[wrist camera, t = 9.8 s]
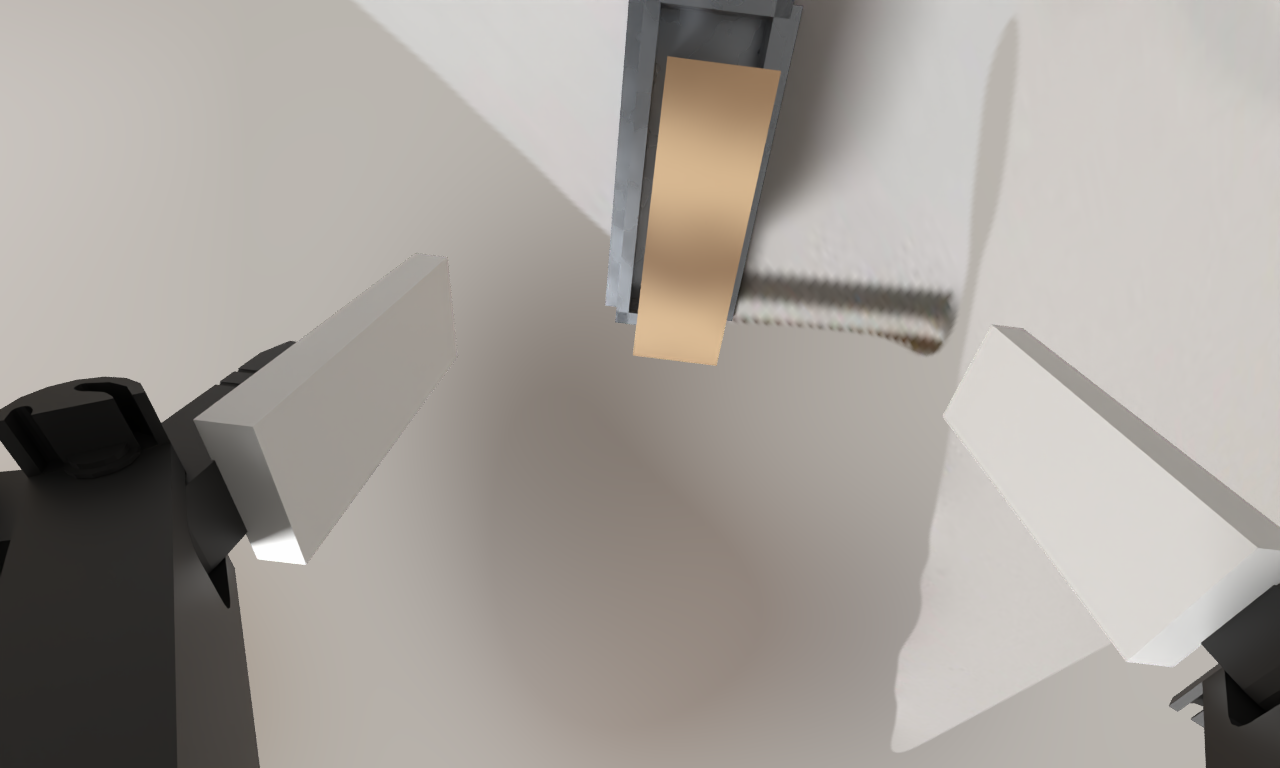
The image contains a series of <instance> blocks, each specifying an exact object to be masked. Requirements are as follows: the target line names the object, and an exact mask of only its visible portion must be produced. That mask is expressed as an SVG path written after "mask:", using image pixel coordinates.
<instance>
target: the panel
mask: <svg viewBox="0 0 1280 768" xmlns="http://www.w3.org/2000/svg"><path fill="white" fill-rule="evenodd" d="M780 74H781V71H778V70H770V69H763V68H755V67H747V66H739V65H731V64H724V63H716V62H708V61H700V60H693V59H685V58H677V57H669V56H667V65H666V73H665V82H664V91H663V99H662V108H661V117H660V125H659V134H658V143H657V151H656V160H655V169H654V177H653V186H652V195H651V203H650V212H649V221H648V229H647V238H646V246H645V255H644V264H643V272H642V281H641V290H640V298H639V307H638V316H637V324H636V333H635V342H634V351H633V355H634V356H643V357H650V358H659V359H667V360H675V361H682V362H691V363H699V364H708V365H717V361H718V356H719V352H720V347H721V343H722V338H723V334H724V329H725V325H726V320H727V316H728V311H729V306H730V302H731V297H732V293H733V288H734V284H735V279H736V275H737V270H738V265H739V261H740V256H741V252H742V247H743V243H744V238H745V234H746V229H747V225H748V220H749V215H750V211H751V206H752V202H753V197H754V193H755V188H756V184H757V179H758V174H759V170H760V165H761V161H762V156H763V152H764V147H765V143H766V138H767V133H768V129H769V124H770V120H771V115H772V111H773V106H774V102H775V97H776V93H777V88H778V83H779V79H780Z"/></svg>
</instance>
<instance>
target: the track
mask: <svg viewBox="0 0 1280 768" xmlns="http://www.w3.org/2000/svg"><path fill="white" fill-rule="evenodd" d="M793 4H794V0H629V7H628V20H627V33H626V46H625V59H624V71H623V84H622V97H621V110H620V123H619V136H618V149H617V162H616V175H615V188H614V201H613V214H612V227H611V240H610V254H609V266H608V279H607V292H606V305H608V306H615V307H617V310H616V321H615V322H618V323H627V324H634V325H636V324H637V316H638V307H639V298H640V290H641V281H642V272H643V264H644V255H645V246H646V238H647V229H648V221H649V212H650V203H651V195H652V186H653V177H654V169H655V160H656V151H657V143H658V134H659V125H660V117H661V108H662V99H663V91H664V82H665V73H666V65H667V56H669V57H677V58H685V59H693V60H700V61H708V62H716V63H724V64H731V65H739V66H747V67H755V68H763V69H770V70H778V71H781V74H780V79H779V83H778V88H777V93H776V97H775V102H774V106H773V111H772V115H771V120H770V124H769V129H768V133H767V138H766V143H765V147H764V152H763V156H762V161H761V165H760V170H759V174H758V179H757V184H756V188H755V193H754V197H753V202H752V206H751V211H750V215H749V220H748V225H747V229H746V234H745V238H744V243H743V247H742V252H741V256H740V261H739V265H738V270H737V275H736V279H735V284H734V288H733V293H732V297H731V302H730V306H729V311H728V316H727V320H728V321H732V319H733V314H734V310H735V305H736V301H737V297H738V292H739V288H740V283H741V279H742V274H743V270H744V266H745V261H746V257H747V252H748V248H749V244H750V239H751V235H752V230H753V226H754V221H755V217H756V213H757V208H758V204H759V199H760V195H761V190H762V186H763V182H764V177H765V173H766V168H767V164H768V159H769V155H770V151H771V146H772V142H773V137H774V133H775V129H776V124H777V120H778V115H779V111H780V106H781V102H782V98H783V93H784V89H785V84H786V80H787V75H788V71H789V67H790V62H791V58H792V53H793V49H794V44H795V40H796V36H797V31H798V27H799V22H800V18H801V14H802V9H803V6H799V5H793Z"/></svg>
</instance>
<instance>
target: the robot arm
mask: <svg viewBox="0 0 1280 768" xmlns="http://www.w3.org/2000/svg"><path fill="white" fill-rule="evenodd" d="M457 357H458V355H457V345H456V335H455V326H454V315H453V305H452V296H451V286H450V276H449V266H448V257H444V256H443V257H442V256H435V255H427V254H419V253H415V254H414V255H412V256H411V257H410V258H408V259H407V260H406V261H404V262H403V263H402V264H400V265H399V266H398V267H396V268H395V269H394V270H392V271H391V272H390V273H388V274H387V275H386V276H385V277H383V278H382V279H380V280H379V281H378V282H376V283H375V284H374V285H372V286H371V287H370V288H368V289H367V290H366V291H364V292H363V293H362V294H360V295H359V296H358V297H356V298H355V299H354V300H352V301H351V302H349V303H348V304H347V305H346V306H344V307H343V308H341V309H340V310H339V311H337V312H336V313H335V314H333V315H332V316H331V317H330V318H328V319H327V320H325V321H324V322H323V323H321V324H320V325H319V326H317V327H316V328H315V329H313V330H312V331H311V332H309V333H308V334H307V335H305V336H304V337H303V338H301V339H300V340H299V341H297V342H294V341H289V342H286V343H284V344H281V345H279V346H276V347H274V348H271V349H269V350H266V351H264V352H261V353H259V354H258V355H257V356H255V357H254V358H253V359H251V360H250V361H248V362H247V363H245V364H244V365H243V366H241V367H240V368H239V370H238V372H233V373H231V374H230V375H229V376H227V377H226V378H224V379H223V380H221V381H220V385H214V386H213V387H212V388H210V389H209V390H207V391H206V392H204V393H203V394H202V395H200V396H199V397H197V398H196V399H195V400H193V401H192V402H190V403H189V404H188V405H186V406H185V407H183V408H182V409H180V410H179V411H178V412H176V413H175V414H173V415H172V416H171V417H169V418H168V419H166V420H165V421H164V422H162V423H161V422H160V420H159V418H158V416H157V414H156V412H155V410H154V408H153V406H152V404H151V402H150V401H149V398H148V397H147V395H146V393H145V391H144V389H143V387H142V385H141V384H140V383H138V382H135V381H133V380H130V379H127V378H116V377H98V378H89V379H81V380H74V381H70V382H66V383H62V384H58V385H54V386H50V387H47V388H44V389H41V390H39V391H36V392H33V393H31V394H28V395H26V396H23V397H20V398H19V399H17V400H15V401H14V402H12V403H10V404H9V405H7V406H5V407H4V408H2V409H0V441H1V442H2V443H3V445H4V446H5V448H6V449H7V450H8V452H9V453H10V454H11V456H12V457H13V458H14V460H15V461H16V462H17V464H18V465H19V466H20V468H21V469H22V470H16V471H6V472H0V768H260V765H259V757H258V749H257V742H256V733H255V726H254V718H253V710H252V702H251V694H250V686H249V678H248V670H247V662H246V654H245V646H244V639H243V630H242V623H241V615H240V607H239V599H238V591H237V583H236V575H235V568H234V566H233V564H232V562H231V560H230V558H229V556H228V553H229V552H230V551H231V550H232V549H233V547H234V546H235V545H236V544H237V543H238V542H239V541H240V540H241V539H242V538H243V537H244V535H245V534H246V535H247V537H248V539H249V541H250V543H251V546H252V548H253V550H254V552H255V554H256V557H257V559H261V560H269V561H277V562H286V563H294V564H303V565H307V563H308V561H309V560H310V559H311V558H312V556H313V555H314V554H315V552H316V551H317V549H318V548H319V547H320V545H321V544H322V543H323V541H324V540H325V538H326V537H327V536H328V534H329V533H330V532H331V530H332V529H333V527H334V526H335V525H336V523H337V522H338V521H339V519H340V518H341V517H342V515H343V514H344V512H345V511H346V510H347V508H348V507H349V505H350V504H351V503H352V501H353V500H354V499H355V497H356V496H357V494H358V493H359V492H360V490H361V489H362V488H363V486H364V485H365V484H366V482H367V481H368V479H369V478H370V477H371V475H372V474H373V473H374V471H375V470H376V468H377V467H378V466H379V464H380V463H381V461H382V460H383V459H384V457H385V456H386V455H387V453H388V452H389V451H390V449H391V448H392V446H393V445H394V444H395V442H396V441H397V440H398V438H399V437H400V435H401V434H402V433H403V431H404V430H405V429H406V427H407V426H408V424H409V423H410V422H411V420H412V419H413V418H414V416H415V415H416V414H417V412H418V411H419V409H420V408H421V407H422V405H423V404H424V403H425V401H426V400H427V398H428V397H429V396H430V394H431V393H432V391H433V390H434V389H435V387H436V386H437V385H438V383H439V382H440V381H441V379H442V378H443V376H444V375H445V374H446V372H447V371H448V369H449V368H450V367H451V365H452V364H453V363H454V361H455V360H456V359H457ZM943 418H944V419H945V420H946V422H947V423H948V424H949V426H950V427H951V428H952V430H953V431H954V432H955V434H956V435H957V436H958V438H959V439H960V440H961V442H962V443H963V444H964V446H965V447H966V448H967V450H968V451H969V452H970V454H971V455H972V456H973V458H974V459H975V460H976V462H977V463H978V464H979V466H980V467H981V468H982V470H983V471H984V472H985V474H986V475H987V476H988V478H989V479H990V481H991V482H992V483H993V485H994V486H995V487H996V489H997V490H998V491H999V493H1000V494H1001V495H1002V497H1003V498H1004V499H1005V501H1006V502H1007V503H1008V505H1009V506H1010V507H1011V509H1012V510H1013V511H1014V513H1015V514H1016V515H1017V517H1018V518H1019V519H1020V521H1021V522H1022V523H1023V525H1024V526H1025V527H1026V529H1027V530H1028V531H1029V533H1030V534H1031V535H1032V537H1033V538H1034V539H1035V541H1036V542H1037V543H1038V545H1039V546H1040V547H1041V549H1042V550H1043V551H1044V553H1045V554H1046V555H1047V557H1048V558H1049V559H1050V561H1051V562H1052V563H1053V565H1054V566H1055V567H1056V569H1057V570H1058V571H1059V573H1060V574H1061V575H1062V577H1063V578H1064V579H1065V581H1066V582H1067V583H1068V585H1069V586H1070V587H1071V589H1072V590H1073V591H1074V593H1075V594H1076V595H1077V597H1078V598H1079V599H1080V601H1081V602H1082V603H1083V605H1084V606H1085V607H1086V609H1087V610H1088V611H1089V613H1090V614H1091V615H1092V617H1093V618H1094V619H1095V621H1096V622H1097V623H1098V625H1099V626H1100V628H1101V629H1102V630H1103V632H1104V633H1105V634H1106V636H1107V637H1108V638H1109V640H1110V641H1111V642H1112V644H1113V645H1114V646H1115V647H1116V649H1117V650H1118V651H1119V653H1120V654H1121V655H1122V657H1123V658H1124V660H1125V661H1126V662H1134V663H1141V664H1151V665H1158V666H1167V667H1174V666H1175V665H1176V664H1178V663H1179V662H1180V661H1182V660H1183V659H1184V658H1185V657H1187V656H1188V655H1189V654H1191V653H1192V652H1193V651H1194V650H1195V649H1197V648H1198V647H1199V646H1201V645H1203V646H1204V647H1205V648H1206V650H1207V651H1208V652H1209V653H1210V654H1211V655H1212V656H1213V657H1214V659H1215V660H1216V661H1217V662H1218V663H1219V664H1218V665H1216V666H1215V667H1213V668H1212V669H1211V670H1209V671H1208V672H1207V673H1206V674H1204V675H1203V676H1201V677H1200V678H1199V679H1197V680H1196V681H1195V682H1193V683H1192V684H1191V685H1189V686H1188V687H1187V688H1185V689H1184V690H1183V691H1181V692H1180V693H1178V694H1177V695H1176V696H1174V697H1173V698H1172V700H1171V703H1170V705H1169V706H1170V707H1171V708H1173V709H1174V710H1176V711H1179V710H1181V709H1182V708H1184V707H1185V706H1186V705H1188V704H1189V703H1196V704H1198V705H1201V706H1203V710H1202V711H1201V712H1199V713H1198V714H1196V715H1195V716H1193V717H1192V718H1191V720H1192V721H1194V722H1196V723H1197V724H1199V725H1201V726H1202V727H1204V730H1205V731H1204V733H1205V756H1206V768H1280V527H1279V526H1277V525H1276V524H1275V523H1274V522H1272V521H1271V520H1270V519H1268V518H1267V517H1266V516H1265V515H1263V514H1262V513H1261V512H1259V511H1258V510H1257V509H1256V508H1254V507H1253V506H1252V505H1250V504H1249V503H1248V502H1246V501H1245V500H1244V499H1243V498H1241V497H1240V496H1239V495H1237V494H1236V493H1235V492H1234V491H1232V490H1231V489H1230V488H1228V487H1227V486H1226V485H1225V484H1223V483H1222V482H1221V481H1219V480H1218V479H1217V478H1216V477H1214V476H1213V475H1212V474H1210V473H1209V472H1208V471H1206V470H1205V469H1204V468H1203V467H1201V466H1200V465H1199V464H1197V463H1196V462H1195V461H1194V460H1192V459H1191V458H1190V457H1188V456H1187V455H1186V454H1185V453H1183V452H1182V451H1181V450H1179V449H1178V448H1177V447H1175V446H1174V445H1173V444H1172V443H1170V442H1169V441H1168V440H1166V439H1165V438H1164V437H1163V436H1161V435H1160V434H1159V433H1157V432H1156V431H1155V430H1154V429H1152V428H1151V427H1150V426H1148V425H1147V424H1146V423H1145V422H1143V421H1142V420H1141V419H1139V418H1138V417H1137V416H1135V415H1134V414H1133V413H1132V412H1130V411H1129V410H1128V409H1126V408H1125V407H1124V406H1123V405H1121V404H1120V403H1119V402H1117V401H1116V400H1115V399H1114V398H1112V397H1111V396H1110V395H1108V394H1107V393H1106V392H1104V391H1103V390H1102V389H1101V388H1099V387H1098V386H1097V385H1095V384H1094V383H1093V382H1092V381H1090V380H1089V379H1088V378H1086V377H1085V376H1084V375H1083V374H1081V373H1080V372H1079V371H1077V370H1076V369H1075V368H1074V367H1072V366H1071V365H1070V364H1068V363H1067V362H1066V361H1064V360H1063V359H1062V358H1061V357H1059V356H1058V355H1057V354H1055V353H1054V352H1053V351H1052V350H1050V349H1049V348H1048V347H1046V346H1045V345H1044V344H1043V343H1041V342H1040V341H1039V340H1037V339H1036V338H1035V337H1033V336H1032V335H1031V334H1030V333H1028V332H1027V331H1026V330H1024V329H1023V328H1016V327H1008V326H1000V325H991V327H990V328H989V330H988V332H987V334H986V336H985V338H984V340H983V341H982V343H981V345H980V347H979V349H978V351H977V353H976V355H975V356H974V358H973V360H972V362H971V364H970V366H969V368H968V369H967V371H966V373H965V375H964V377H963V379H962V381H961V383H960V384H959V386H958V388H957V390H956V392H955V394H954V396H953V397H952V399H951V401H950V403H949V405H948V407H947V409H946V411H945V413H944V414H943Z"/></svg>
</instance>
